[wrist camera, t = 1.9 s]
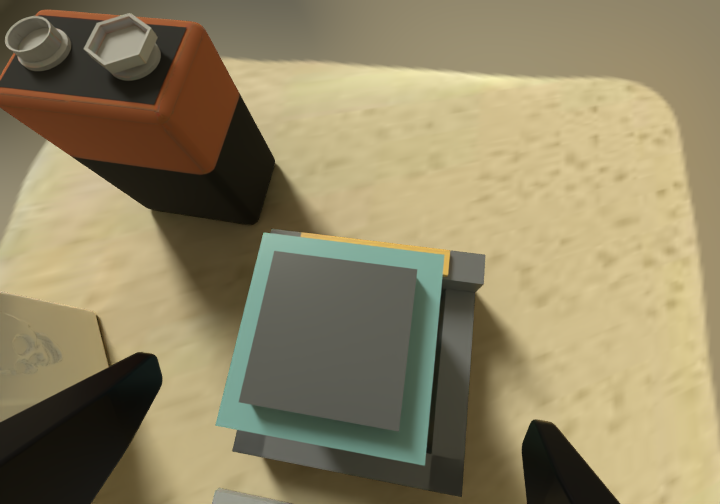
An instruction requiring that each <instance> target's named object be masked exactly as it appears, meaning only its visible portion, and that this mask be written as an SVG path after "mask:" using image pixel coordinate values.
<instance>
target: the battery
mask: <svg viewBox="0 0 720 504" xmlns="http://www.w3.org/2000/svg"><path fill="white" fill-rule="evenodd" d="M5 43H6V45H7V47H8V48H9V49H10V50H11V51H12V52H14V53H13V55H12V57H11V58H10V60H9V62H8V64H7V65H6V67H5V69H4V70H3V72H2V74H1V76H0V108H2V109H3V110H4V111H6V112H7V113H9V114H10V115H12V116H13V117H15V118H16V119H18V120H19V121H20V122H22V123H24V124H25V125H26V126H28V127H29V128H31V129H32V130H34V131H35V132H36V133H38V134H40V135H41V136H42V137H44V138H45V139H47V140H48V141H50V142H51V143H53V144H54V145H55V146H57V147H58V148H60V149H61V150H63V151H64V152H66V153H67V154H69V155H70V156H72V157H73V158H74V159H76V160H77V161H79V162H80V163H82V164H83V165H85V166H86V167H88V168H89V169H91V170H92V171H93V172H95V173H96V174H98V175H99V176H101V177H102V178H104V179H105V180H107V181H108V182H110V183H111V184H112V185H114V186H115V187H117V188H118V189H120V190H121V191H123V192H124V193H126V194H127V195H129V196H130V197H132V198H133V199H134V200H136V201H137V202H139V203H140V204H142V205H143V206H145V207H146V208H148V209H152V210H157V211H164V212H170V213H176V214H183V215H189V216H196V217H202V218H209V219H215V220H221V221H228V222H234V223H241V224H254V223H256V222H257V221H258V219H259V216H260V213H261V209H262V206H263V202H264V199H265V195H266V192H267V189H268V185H269V182H270V178H271V175H272V171H273V168H274V164H275V159H274V157H273V155H272V153H271V151H270V149H269V148H268V146H267V144H266V142H265V140H264V138H263V136H262V134H261V133H260V131H259V129H258V127H257V125H256V123H255V121H254V120H253V118H252V116H251V114H250V112H249V110H248V108H247V106H246V105H245V103H244V101H243V99H242V97H241V95H240V93H239V92H238V90H237V88H236V86H235V84H234V82H233V80H232V79H231V77H230V75H229V73H228V71H227V69H226V67H225V65H224V64H223V62H222V60H221V58H220V56H219V54H218V52H217V51H216V49H215V47H214V45H213V43H212V41H211V39H210V37H209V36H208V34H207V32H206V30H205V29H204V28H203V26H201V25H200V24H198V23H196V22H191V21H181V20H169V19H156V18H145V17H144V18H143V17H135V16H134V15H132V14H131V13H128V14H124V15H121V16H120V15H108V14H96V13H83V12H72V11H59V10H41V11H39V12H38V13H37V14H36V16H31V17H27V18H24V19H22V20H20V21H18V22H17V23H15V24H14V25H13V26H12V27H11V28H10V29H9V30H8V32H7V34H6V37H5Z"/></svg>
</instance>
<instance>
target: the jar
mask: <svg viewBox="0 0 720 504" xmlns="http://www.w3.org/2000/svg"><path fill="white" fill-rule="evenodd" d="M108 367H109V366H108V362H107V358H106V354H105V350H104V346H103V342H102V338H101V334H100V330H99V326H98V322H97V318H96V314H95V312H94V311H91V310H87V309H82V308H78V307H73V306H68V305H64V304H59V303H54V302H50V301H45V300H40V299H36V298H31V297H26V296H22V295H17V294H12V293H8V292H3V291H0V422H2V421H3V420H5V419H7V418H9V417H11V416H13V415H15V414H17V413H19V412H21V411H23V410H25V409H27V408H29V407H31V406H33V405H35V404H37V403H39V402H41V401H43V400H45V399H47V398H49V397H51V396H53V395H55V394H57V393H58V392H60V391H62V390H64V389H66V388H68V387H70V386H72V385H74V384H76V383H78V382H80V381H82V380H84V379H86V378H88V377H90V376H92V375H94V374H96V373H98V372H100V371H102V370H104V369H106V368H108Z"/></svg>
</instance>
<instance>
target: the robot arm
mask: <svg viewBox="0 0 720 504" xmlns="http://www.w3.org/2000/svg"><path fill="white" fill-rule="evenodd" d="M161 385H162V374H161V370H160V366H159V363H158V359H157V357H156V356H155V355H154V354H150V353H144V352H138V353H135V354H133V355H131V356H129V357H127V358H125V359H123V360H121V361H119V362H117V363H115V364H113V365H111V366H110V367H108V368H106V369H104V370H102V371H100V372H98V373H96V374H94V375H92V376H90V377H88V378H86V379H84V380H82V381H80V382H78V383H76V384H74V385H72V386H70V387H68V388H66V389H64V390H62V391H60V392H58V393H57V394H55V395H53V396H51V397H49V398H47V399H45V400H43V401H41V402H39V403H37V404H35V405H33V406H31V407H29V408H27V409H25V410H23V411H21V412H19V413H17V414H15V415H13V416H11V417H9V418H7V419H5V420H3V421H2V422H0V504H91V502H92V501H93V499H94V498H95V496H96V495H97V493H98V492H99V490H100V489H101V487H102V486H103V484H104V483H105V481H106V480H107V478H108V477H109V475H110V474H111V472H112V471H113V469H114V468H115V466H116V465H117V463H118V462H119V460H120V459H121V457H122V456H123V454H124V453H125V451H126V449H127V448H128V446H129V444H130V443H131V441H132V439H133V438H134V436H135V434H136V432H137V430H138V428H139V427H140V425H141V423H142V421H143V419H144V417H145V415H146V414H147V412H148V410H149V408H150V406H151V404H152V402H153V401H154V399H155V397H156V395H157V393H158V391H159V390H160V387H161ZM522 460H523V469H524V479H525V488H526V498H527V504H620V503H619V501H618V500H617V499H616V498H615V497H614V495H613V494H612V493H611V492H610V491H609V489H608V488H607V487H606V486H605V485H604V483H603V482H602V481H601V480H600V478H599V477H598V476H597V475H596V474H595V472H594V471H593V470H592V469H591V468H590V466H589V465H588V464H587V463H586V462H585V460H584V459H583V458H582V457H581V456H580V454H579V453H578V452H577V451H576V449H575V448H574V447H573V446H572V445H571V443H570V442H569V441H568V440H567V439H566V437H565V436H564V435H563V434H562V433H561V431H560V430H559V429H558V428H557V427H556V425H554V424H553V423H552V422H548V421H542V420H536V419H535V420H533V421H531V423H530V425H529V428H528V430H527V433H526V435H525V438H524V440H523V443H522Z"/></svg>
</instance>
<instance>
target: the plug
mask: <svg viewBox="0 0 720 504" xmlns="http://www.w3.org/2000/svg"><path fill="white" fill-rule="evenodd" d="M443 265H444V255H442V254H434V253H426V252H418V251H410V250H402V249H394V248H386V247H378V246H369V245H361V244H353V243H345V242H337V241H329V240H321V239H313V238H304V237H296V236H288V235H280V234H272V233H264V232H263V236H262V240H261V244H260V249H259V253H258V257H257V261H256V265H255V269H254V273H253V277H252V281H251V285H250V289H249V293H248V297H247V301H246V305H245V309H244V313H243V317H242V321H241V325H240V329H239V333H238V337H237V341H236V345H235V349H234V353H233V357H232V361H231V365H230V369H229V373H228V377H227V381H226V385H225V389H224V393H223V397H222V401H221V405H220V409H219V413H218V417H217V421H216V425H215V426H221V427H226V428H231V429H236V430H241V431H247V432H252V433H257V434H262V435H267V436H273V437H278V438H283V439H288V440H294V441H299V442H304V443H309V444H314V445H320V446H325V447H330V448H335V449H340V450H346V451H351V452H356V453H361V454H367V455H372V456H377V457H382V458H387V459H393V460H398V461H403V462H408V463H413V464H419V465H424V466H425V458H426V448H427V437H428V426H429V415H430V405H431V394H432V383H433V373H434V362H435V351H436V340H437V330H438V319H439V308H440V297H441V287H442V276H443Z"/></svg>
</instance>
